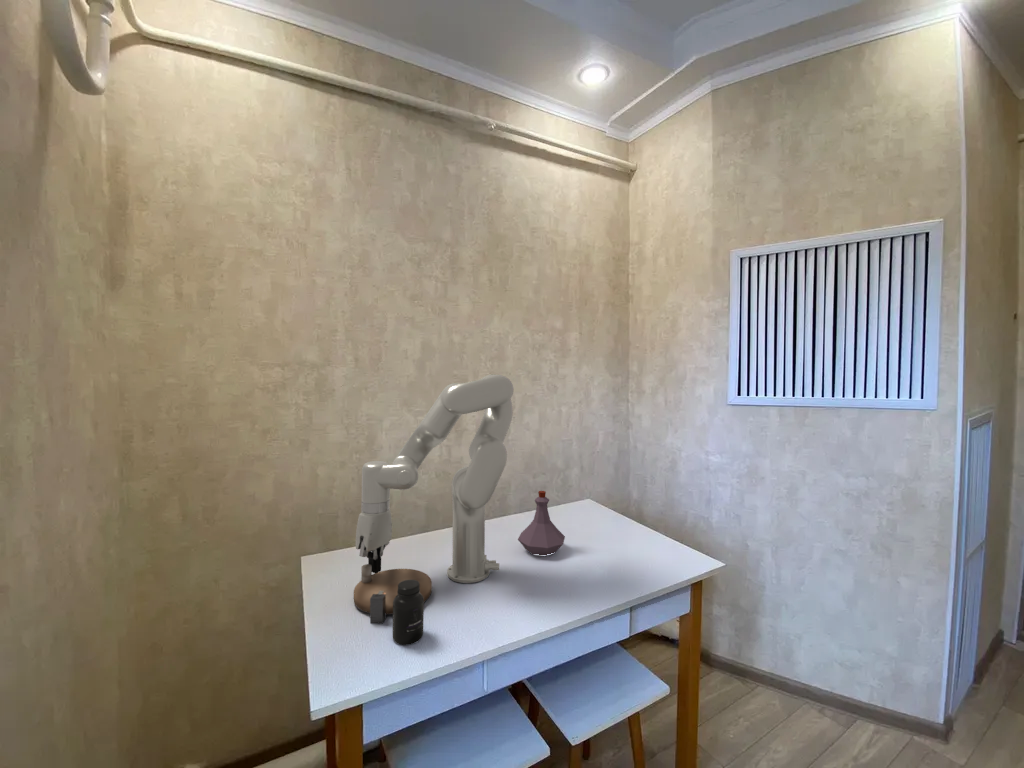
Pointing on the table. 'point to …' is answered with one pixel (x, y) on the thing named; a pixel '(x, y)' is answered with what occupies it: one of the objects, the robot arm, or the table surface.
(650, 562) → the table surface
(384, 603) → the index pointer
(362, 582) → the disc
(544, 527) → the flask
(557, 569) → the table surface
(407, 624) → the supplement bottle
